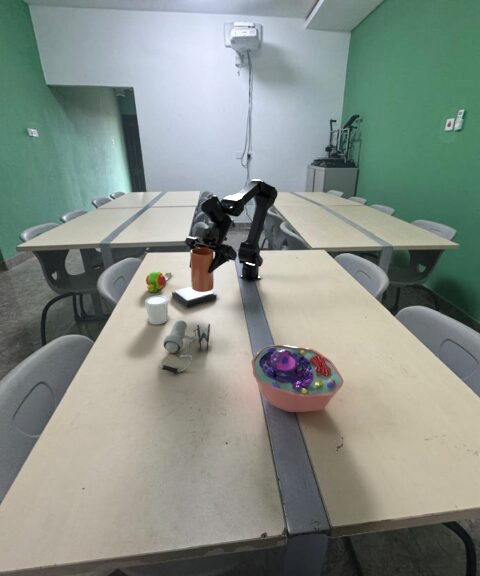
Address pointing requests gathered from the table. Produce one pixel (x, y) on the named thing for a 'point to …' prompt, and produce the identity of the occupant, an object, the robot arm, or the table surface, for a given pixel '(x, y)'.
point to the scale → (192, 297)
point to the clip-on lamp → (175, 341)
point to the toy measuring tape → (156, 280)
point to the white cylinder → (157, 309)
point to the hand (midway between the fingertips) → (199, 270)
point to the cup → (201, 269)
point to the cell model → (295, 378)
